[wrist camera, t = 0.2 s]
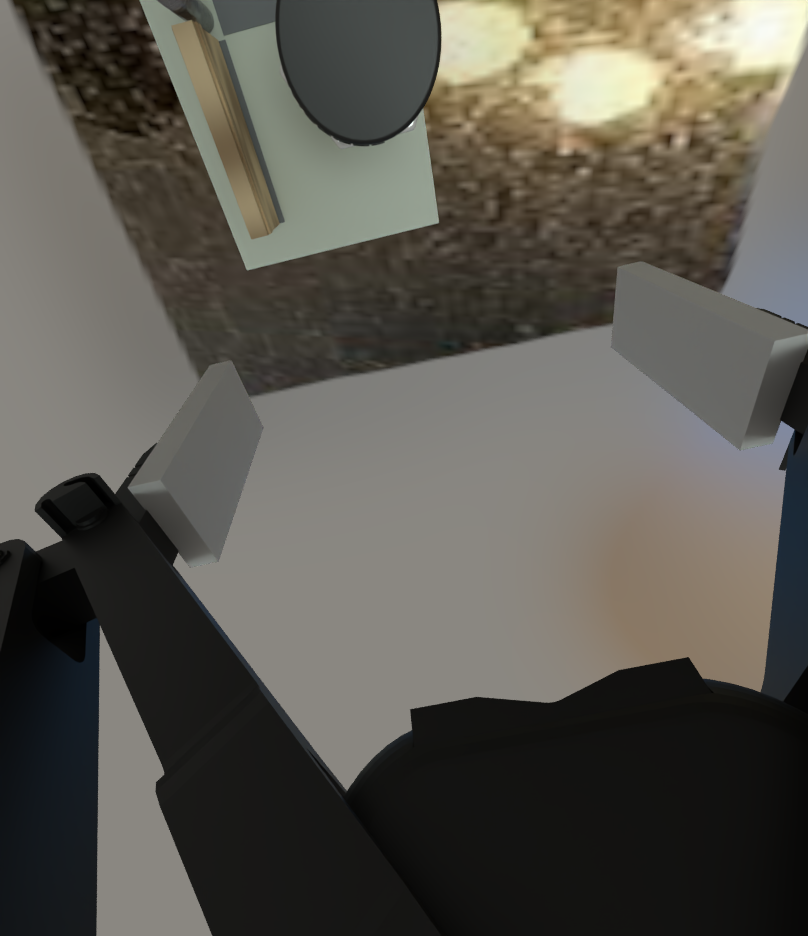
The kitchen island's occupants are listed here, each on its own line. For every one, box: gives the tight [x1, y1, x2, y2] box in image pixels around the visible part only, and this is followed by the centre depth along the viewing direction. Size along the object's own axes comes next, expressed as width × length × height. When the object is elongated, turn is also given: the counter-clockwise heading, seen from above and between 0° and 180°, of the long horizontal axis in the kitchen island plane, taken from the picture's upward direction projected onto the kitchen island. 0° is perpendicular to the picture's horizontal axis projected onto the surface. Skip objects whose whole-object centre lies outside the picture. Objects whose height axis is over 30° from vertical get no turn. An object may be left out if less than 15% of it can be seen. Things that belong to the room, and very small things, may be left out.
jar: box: [275, 0, 441, 149], centre depth 26 cm, size 9×8×12 cm
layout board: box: [140, 0, 439, 270], centre depth 29 cm, size 29×17×1 cm, turn 12°
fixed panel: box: [171, 20, 280, 239], centre depth 30 cm, size 11×2×6 cm, turn 12°
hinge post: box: [157, 0, 214, 33], centre depth 26 cm, size 1×1×8 cm
